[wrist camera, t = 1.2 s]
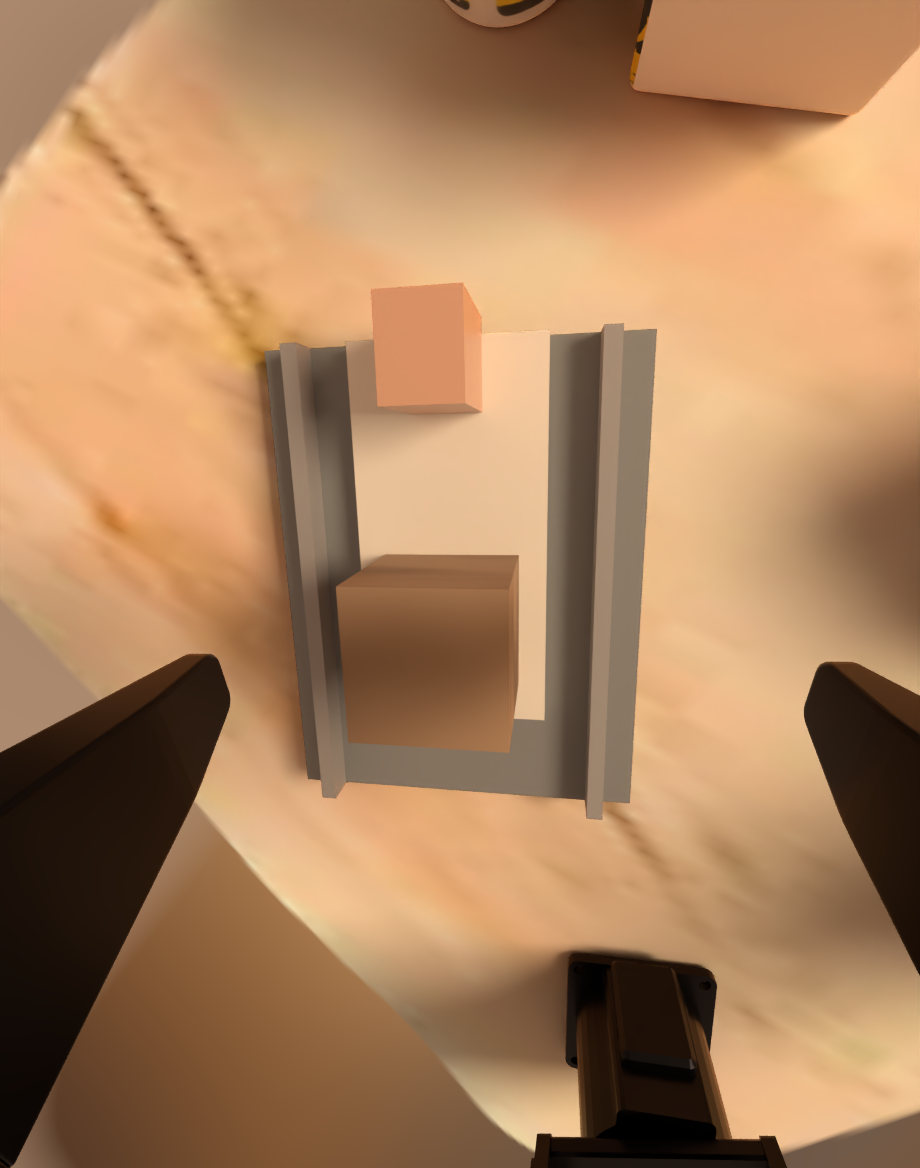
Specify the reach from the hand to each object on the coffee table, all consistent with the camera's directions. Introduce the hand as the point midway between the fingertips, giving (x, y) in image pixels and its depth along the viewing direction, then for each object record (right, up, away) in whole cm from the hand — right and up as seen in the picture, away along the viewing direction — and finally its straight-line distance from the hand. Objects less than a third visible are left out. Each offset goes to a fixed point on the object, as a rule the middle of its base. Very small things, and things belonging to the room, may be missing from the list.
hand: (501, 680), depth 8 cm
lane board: (-1, +2, +14) cm, 14 cm away
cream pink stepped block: (-1, +3, +13) cm, 13 cm away
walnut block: (-1, 0, +13) cm, 13 cm away
